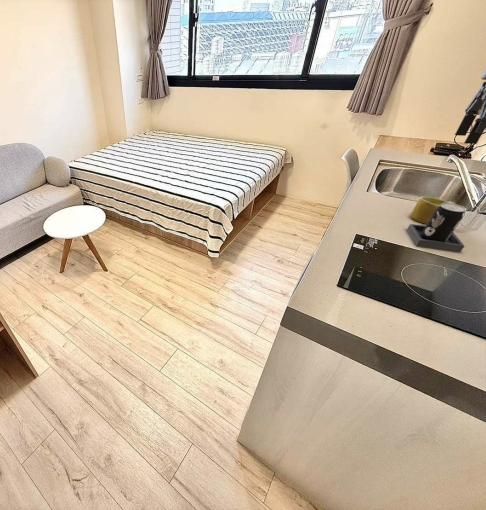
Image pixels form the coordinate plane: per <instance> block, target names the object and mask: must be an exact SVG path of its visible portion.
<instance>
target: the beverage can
mask: <svg viewBox="0 0 486 510" xmlns="http://www.w3.org/2000/svg"><path fill="white" fill-rule="evenodd" d="M466 211H467V208H466V207H464V206H463V205H460V204H457V203H455V204H452V203H443V204H441V206H439V207H438V208H437V209H436V210H435V212H434V214H433V215H432V217H431V218H430V220H429V222H428V223H427V225H426V224H425V225H424V226H425V228H424V230H423V231H422V233H421V236H422V238H423V239H425V240H432V241H439V242H446V241H447V240H448V238H449V237H450V235H451V234H452V232H454V231H455V230H456V228H457V227H458V226H459V224H460V222H461V221H462V220H463V218H464V217H465V215H466Z"/></svg>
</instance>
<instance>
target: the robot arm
mask: <svg viewBox="0 0 486 510" xmlns="http://www.w3.org/2000/svg"><path fill="white" fill-rule="evenodd" d="M480 78H481V80H482V81H483V82H482V83H481V85H480V87H479V90H478V91H477V92H476V94H475V95H474V97H473V98H472V100H471V101H470V102H469V104H468V105H467V107H466V108H465V109H464V112H465V114H464V116H463V118H462V119H461V122H460V124H459V126H458V128H457V129H456V132H455V133H454V136H460V137H461V136H463V137H466V136H467V137H466V139H465V140H464V142H463V144H467V145H468V144H469V145H477V144H478V142H479V140H480V139H481V137H482V135H483V133H484V132H485V130H486V69H485V70H484V71H483V74H482V76H481V77H480ZM478 115H479V117H478V118H477V116H478ZM474 122H475V123H474ZM473 123H474V124H473ZM472 125H473V126H472ZM471 127H472V128H471ZM470 128H471V130H470ZM469 130H470V131H469ZM468 132H469V133H468ZM467 134H468V135H467Z"/></svg>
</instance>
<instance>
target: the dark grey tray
mask: <svg viewBox="0 0 486 510" xmlns="http://www.w3.org/2000/svg"><path fill="white" fill-rule="evenodd" d="M425 226H426V225H423V224H414V223H410V224H409V225H408V226H407V228H406V232H407V234H408V235H409V237H410V238H411V240H412V242H413V244H414V245H415V247H419V248H424V249H431V250H439V251H446V252H452V253H458V254H459V253H461V252H462V251H463V249H464V248H465V247H466V246H465V244H464V243H463V241H461V240H460V238H459V237H458V236H457V234H456V233H455V232H454V231H453V232H452V234H451V235H450V237H449V238H448V240H447V241H446V242H439V241H432V240H425V239H423V238H422V236H421V233H422V231H423V230H424V228H425Z"/></svg>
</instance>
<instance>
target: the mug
mask: <svg viewBox="0 0 486 510" xmlns="http://www.w3.org/2000/svg"><path fill="white" fill-rule="evenodd" d="M443 203H452V204H456V203H455V202H453V201H446V200H444V199H441V198H438V197H433V196H425V195H424V196H421V197H420V198H419V200H417V202H416V204H415V206H414V207H413V210H412V211H411V213H410V219H411V220H413V221H416V222H418V223H421V224H422V225H423V224H424V225H425V226H426V225H427V223H428V222H429V220H430V218H431V217H432V215H433V214H434V212H435V210H436V209H437V208H438V207H439V206H441V204H443Z"/></svg>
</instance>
